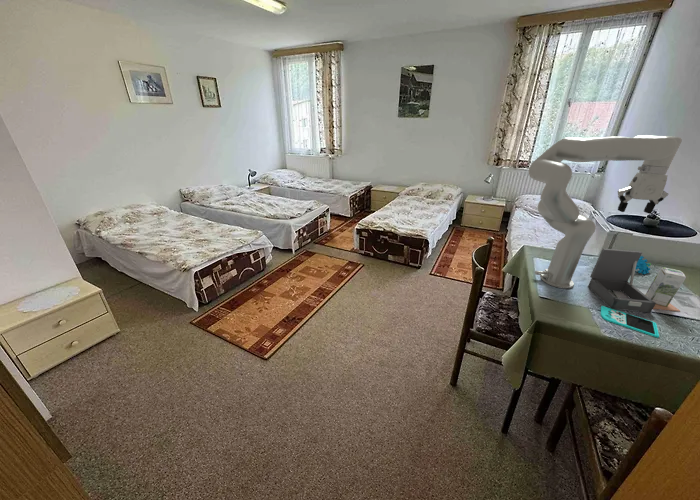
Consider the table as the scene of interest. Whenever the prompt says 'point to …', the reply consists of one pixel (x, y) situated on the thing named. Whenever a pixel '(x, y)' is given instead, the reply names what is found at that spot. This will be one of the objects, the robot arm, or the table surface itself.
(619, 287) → the case
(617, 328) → the table surface
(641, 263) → the gear
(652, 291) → the syrup box
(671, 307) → the rubber mat
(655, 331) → the handheld game console
